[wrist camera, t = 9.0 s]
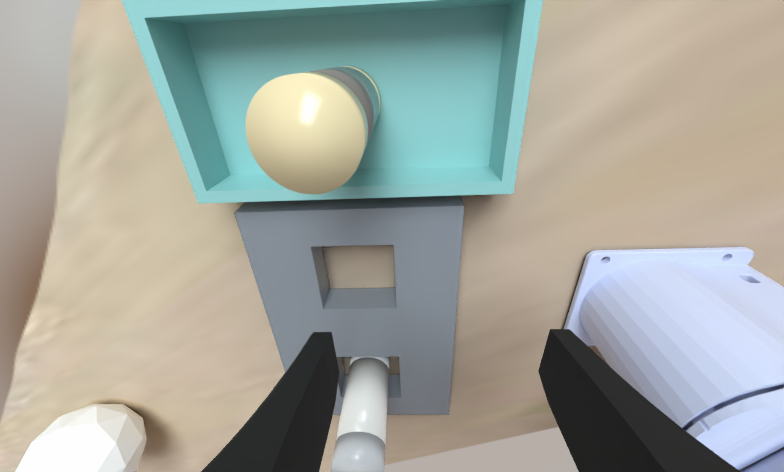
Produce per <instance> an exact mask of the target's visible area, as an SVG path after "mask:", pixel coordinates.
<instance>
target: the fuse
mask: <svg viewBox="0 0 784 472" xmlns="http://www.w3.org/2000/svg"><path fill="white" fill-rule="evenodd" d="M389 366H390V357H351V361H350V366H349V372H348V377H347V383H346V388H345V394H344V399H343V405H342V410H341V415H340V421H339V426H338V432H337V437H336V443H335V448H334V454H333V459H332V465H331V472H384V462H385V442H386V423H387V404H388V385H389Z"/></svg>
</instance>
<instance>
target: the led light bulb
mask: <svg viewBox="0 0 784 472" xmlns="http://www.w3.org/2000/svg"><path fill="white" fill-rule="evenodd" d="M380 110H381V94H380V91H379V88H378V86H377V84H376V82H375V80H374V79H373V78H372V77H371V76H370V75H369V74H368V73H367V72H366V71H364V70H362V69H360V68H358V67H355V66H340V67H334V68H327V69H321V70H315V71H308V72H302V73H296V74H289V75H284V76H280V77H277V78H275V79H273V80H271V81H269V82H268V83H266V84H265V85H263V86H262V87H261V88H260V89H259V90H258V91H257V93H256V94H255V95H254V97H253V99H252V100H251V102H250V105H249V108H248V110H247V115H246V125H245V128H246V137H247V142H248V145H249V148H250V151H251V153H252V155H253V157H254V159H255V160H256V162H257V164H258V165H259V166H260V168H261V169H262V170H263V171H264V172H265V173H266V174H267V175H268V176H269V177H270V178H271V179H272V180H273V181H275V182H276V183H278V184H279V185H281V186H283V187H285V188H287V189H289V190H292V191H294V192H298V193H303V194H323V193H327V192H330V191H333V190H335V189H337V188H339V187H341V186H342V185H343V184H345V183H346V182H347V181H348V180H349V179H350V178H351V177H352V175H353V174H354V173H355V171H356V169H357V167H358V165H359V163H360V160H361V158H362V155H363V153H364V150H365V148H366V145H367V143H368V141H369V138H370V136H371V133H372V131H373V128H374V126H375V123H376V121H377V118H378V116H379V113H380Z"/></svg>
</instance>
